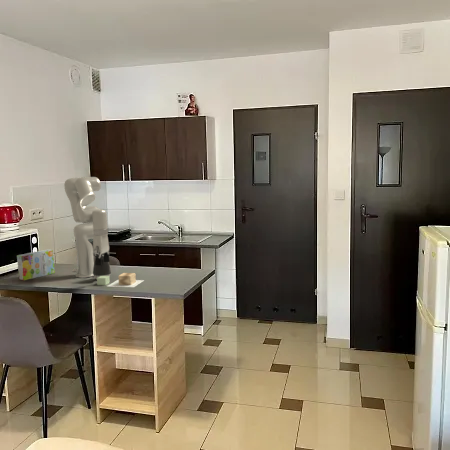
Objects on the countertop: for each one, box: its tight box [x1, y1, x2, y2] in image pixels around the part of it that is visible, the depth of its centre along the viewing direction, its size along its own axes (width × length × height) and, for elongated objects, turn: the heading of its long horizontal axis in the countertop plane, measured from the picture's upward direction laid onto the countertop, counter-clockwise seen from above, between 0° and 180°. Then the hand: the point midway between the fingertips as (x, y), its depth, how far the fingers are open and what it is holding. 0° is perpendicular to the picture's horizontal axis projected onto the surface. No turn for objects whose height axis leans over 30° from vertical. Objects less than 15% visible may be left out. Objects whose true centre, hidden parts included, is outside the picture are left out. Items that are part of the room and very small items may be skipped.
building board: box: [106, 279, 145, 288], centre depth 255 cm, size 16×15×1 cm
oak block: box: [118, 272, 137, 285], centre depth 254 cm, size 7×7×5 cm
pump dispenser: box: [93, 253, 112, 281], centre depth 268 cm, size 10×10×15 cm
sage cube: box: [96, 276, 111, 286], centre depth 254 cm, size 5×5×5 cm
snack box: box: [16, 249, 56, 281], centre depth 281 cm, size 21×6×15 cm, turn 145°
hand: (102, 263), depth 253 cm, fingers open, 9 cm apart
